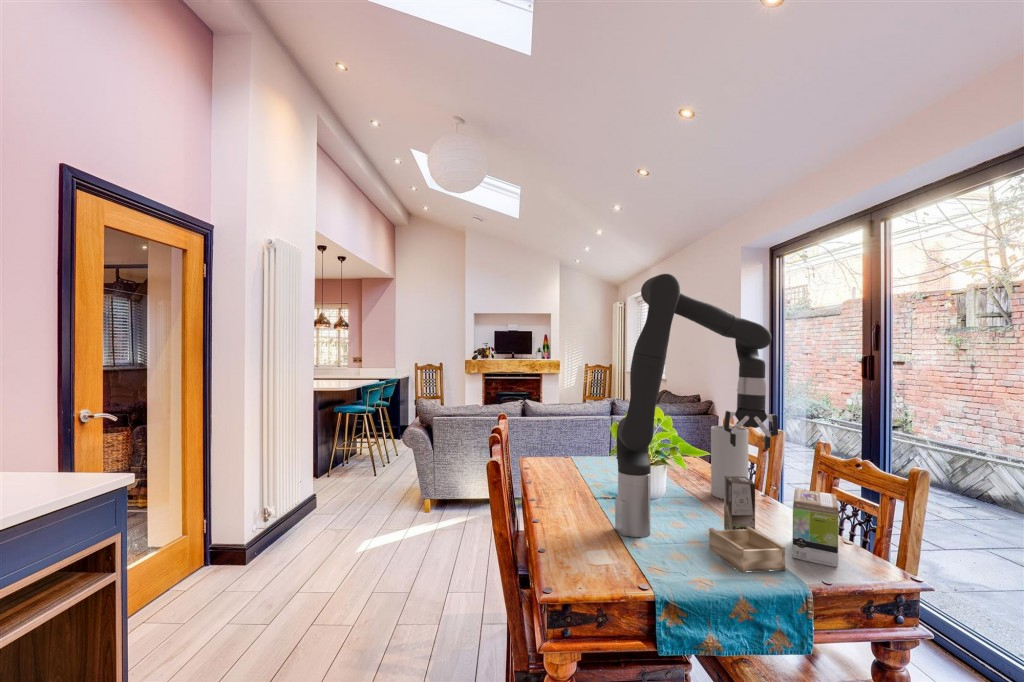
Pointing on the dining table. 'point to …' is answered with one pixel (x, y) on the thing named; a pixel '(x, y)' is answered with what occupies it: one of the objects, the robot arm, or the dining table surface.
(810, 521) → the tea box
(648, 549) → the dining table surface
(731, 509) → the coffee box
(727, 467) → the cylinder vase
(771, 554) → the crate
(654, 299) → the robot arm
